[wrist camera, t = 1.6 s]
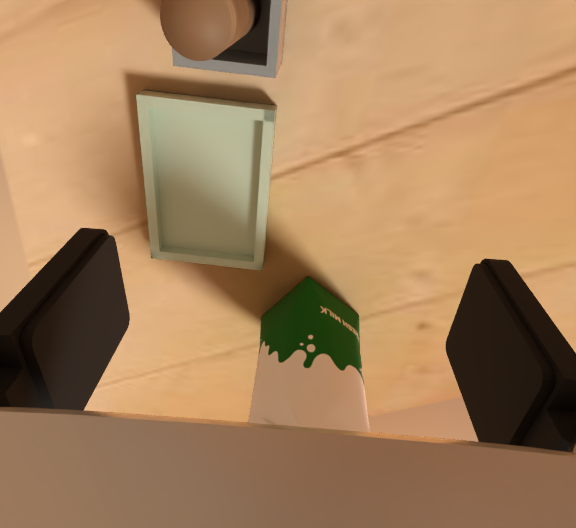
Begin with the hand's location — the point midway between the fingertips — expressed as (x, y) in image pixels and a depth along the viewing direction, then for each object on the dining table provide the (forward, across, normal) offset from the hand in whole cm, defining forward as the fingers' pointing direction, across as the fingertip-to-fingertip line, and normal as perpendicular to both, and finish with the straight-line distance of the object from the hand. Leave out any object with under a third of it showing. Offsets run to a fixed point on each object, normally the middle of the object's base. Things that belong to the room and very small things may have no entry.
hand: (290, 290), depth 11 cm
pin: (+23, +5, -5) cm, 24 cm away
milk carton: (+24, -2, +21) cm, 32 cm away
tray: (+24, +7, +8) cm, 26 cm away
